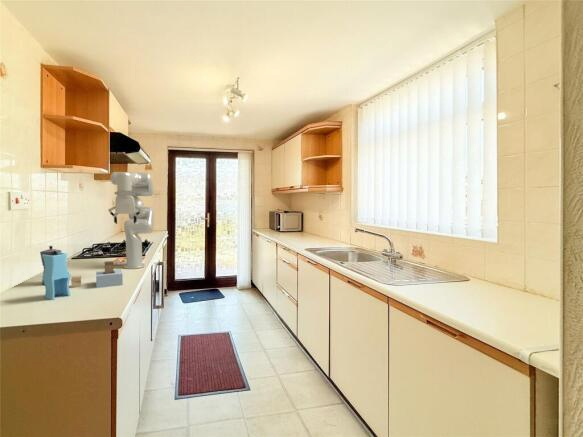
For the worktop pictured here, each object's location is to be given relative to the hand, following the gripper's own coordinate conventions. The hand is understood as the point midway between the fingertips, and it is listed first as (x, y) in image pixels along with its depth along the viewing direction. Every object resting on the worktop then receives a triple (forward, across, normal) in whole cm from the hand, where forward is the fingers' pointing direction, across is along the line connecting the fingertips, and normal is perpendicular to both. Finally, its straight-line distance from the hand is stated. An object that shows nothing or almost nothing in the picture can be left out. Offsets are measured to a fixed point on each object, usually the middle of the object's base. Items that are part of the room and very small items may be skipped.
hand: (125, 223), depth 198 cm
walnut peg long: (+30, -10, -16) cm, 36 cm away
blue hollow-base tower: (+30, -32, -31) cm, 53 cm away
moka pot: (+31, -36, -2) cm, 47 cm away
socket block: (+30, -10, -16) cm, 36 cm away
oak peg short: (+30, -25, -15) cm, 42 cm away
